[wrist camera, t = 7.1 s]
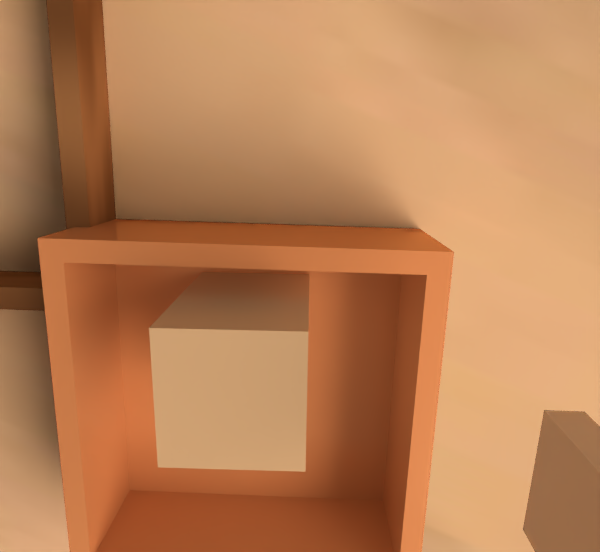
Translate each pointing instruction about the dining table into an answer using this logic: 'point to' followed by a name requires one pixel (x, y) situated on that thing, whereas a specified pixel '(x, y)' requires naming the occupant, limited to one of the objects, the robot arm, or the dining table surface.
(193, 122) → the dining table surface
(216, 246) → the orange storage bin
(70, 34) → the tray
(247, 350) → the cream tall block
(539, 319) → the dining table surface
